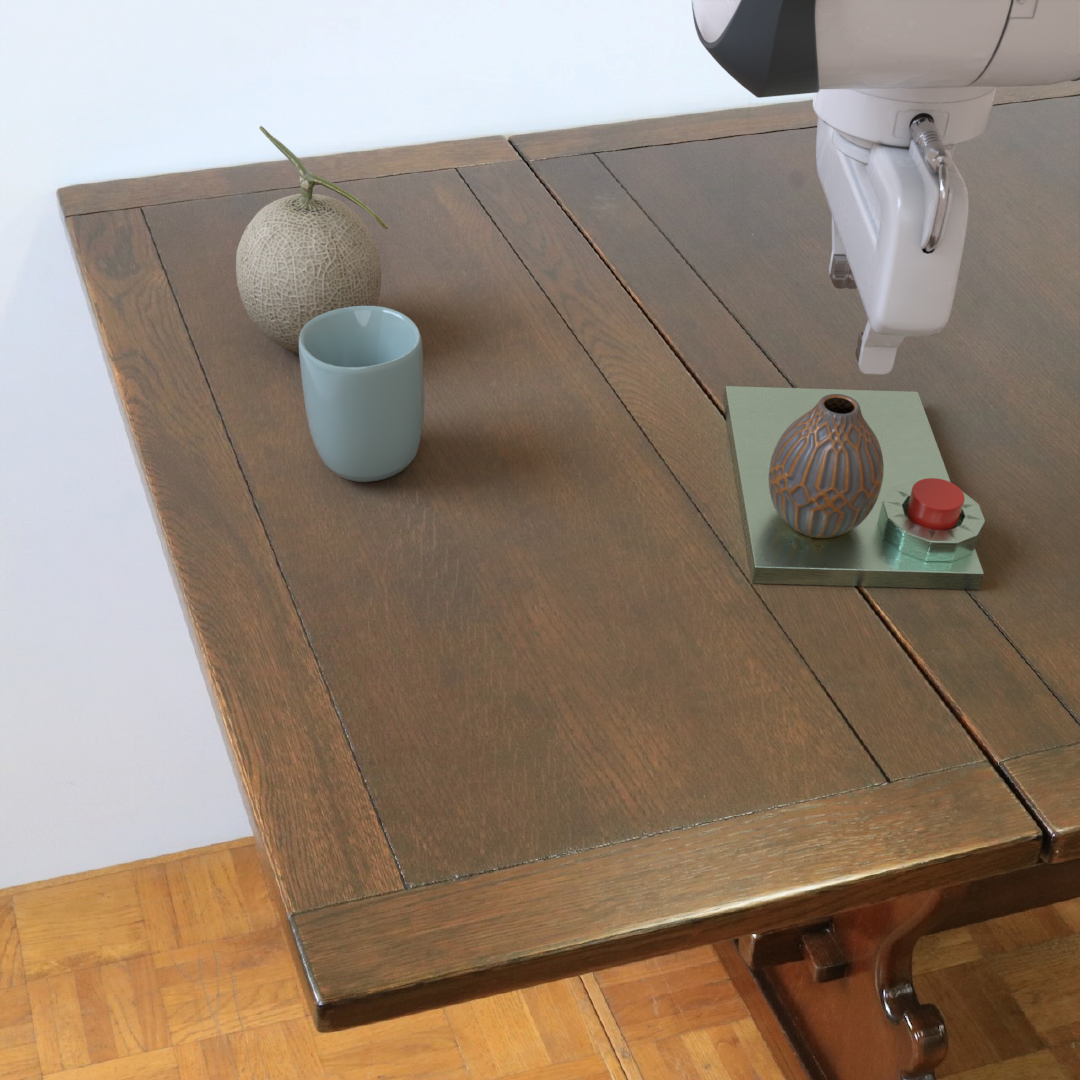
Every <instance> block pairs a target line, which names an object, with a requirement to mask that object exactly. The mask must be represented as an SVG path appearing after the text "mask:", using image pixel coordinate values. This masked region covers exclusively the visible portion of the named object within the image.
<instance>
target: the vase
mask: <svg viewBox="0 0 1080 1080" xmlns="http://www.w3.org/2000/svg"><path fill="white" fill-rule="evenodd" d="M883 473H884V465H883V456H882V451H881V447H880V444H879V442H878V439H877V437H876V436H875V434H874V432H873V431H872V429H871V428H870V426H869V425H868V424H867V422H866V421H865V419H864V418H863V416H862V413H861V409H860V406H859V404H858V402H857V401H856V400H855V399H853V398H851V397H849V396H847V395H843V394H829V395H826V396H824V397H822V398H821V399H820V400H819V402H818V403H817V404H816V406H815V407H814V408H813V409H811V410H810V411H808V412H807V413H805V414H804V415H802V416H801V417H800V418H798V419H797V420H796V421H794V422H793V423H792V424H791V425H790V426H789V427H788V428H787V429H786V430H785V431H784V433H783V434H782V436H781V437H780V439H779V441H778V443H777V445H776V447H775V449H774V452H773V454H772V458H771V462H770V468H769V491H770V495H771V499H772V502H773V505H774V507H775V509H776V511H777V512H778V514H779V515H780V517H781V518H782V519H783V520H784V521H785V522H786V523H787V524H788V525H789V526H790V527H792V528H793V529H794V530H796V531H797V532H799V533H801V534H804V535H806V536H810V537H815V538H830V537H835V536H838V535H841V534H844V533H847V532H849V531H851V530H852V529H854V528H855V527H857V526H858V525H859V524H861V523H862V522H863V520H864V519H865V518H866V517H867V516H868V515H869V513H870V512H871V510H872V509H873V507H874V505H875V503H876V501H877V499H878V496H879V493H880V490H881V486H882V481H883Z"/></svg>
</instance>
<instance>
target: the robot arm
mask: <svg viewBox="0 0 1080 1080" xmlns="http://www.w3.org/2000/svg"><path fill="white" fill-rule="evenodd" d="M691 8H692V9H691V10H692V18H693V23H694V27H695V32H696V34H697V37H698V40H699V42H700V43H701V44H702V46H703V47H704V48H705V50H706V51H707V52H708V53H709V55H710V56H711V58H713V59H714V60H715V62H716V63H717V64H718V65H719V66H720V67H721V68H722V69H723V70H724V71H725V72H726V73H727V74H728V75H729V76H730V77H732V78H733V79H734V80H735V81H736V82H737V83H738V84H739V85H741V87H743V88H744V89H746V90H747V91H748V92H749V93H751V94H752V95H754V96H755V98H758V99H759V98H760V99H761V98H762V99H763V98H770V97H783V96H793V95H795V96H796V95H804V94H813V99H812V108H813V111H814V113H815V115H816V116H817V126H816V139H815V157H816V158H815V163H816V173H817V176H818V179H819V183H820V185H821V188H822V190H823V194H824V196H825V199H826V202H827V205H828V207H829V210H830V213H831V254H830V261H829V267H828V274H829V277H830V280H831V283H832V285H833V287H834V288H835V289H838V290H840V289H841V290H843V289H850V290H856V289H857V291H858V294H859V297H860V299H861V303H862V305H863V309H864V311H865V314H866V317H867V321H866V325H865V328H864V330H863V331H859V333H858V338H857V345H856V346H857V347H856V349H855V353H854V354H855V358H856V361H857V365H858V368H859V371H860V372H861V373H862V374H864V375H882V376H885V375H888V374H889V373H891V372H892V370H893V369H894V366H895V361H896V357H897V352H898V348H899V347H900V345H901V344H902V343H903V341H904V340H905V338H906V337H934V336H937V335H938V334H940V333H941V332H942V331H943V329H944V328H945V327H946V325H947V324H948V322H949V320H950V317H951V314H952V311H953V305H954V302H955V301H954V300H955V295H956V290H957V287H958V281H959V276H960V270H961V264H962V260H963V254H964V248H965V242H966V237H967V231H968V222H969V209H970V208H969V205H970V204H969V203H970V202H969V194H968V193H969V192H968V188H967V185H966V182H965V180H964V178H963V176H962V175H961V172H960V171H959V169H958V168H957V165H956V164H955V161H954V160H953V159H954V157H955V156H956V152H957V148H958V145H960V144H964V143H967V142H969V141H973V140H974V139H976V138H978V137H980V136H981V135H982V134H983V133H984V132H985V131H986V130H987V129H988V127H989V124H990V120H991V115H992V111H993V108H994V103H995V99H996V95H997V90H998V88H1008V87H1009V88H1011V87H1012V88H1013V87H1014V88H1015V87H1016V88H1017V87H1042V86H1051V85H1056V84H1062V83H1065V82H1077V81H1080V0H691Z"/></svg>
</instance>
